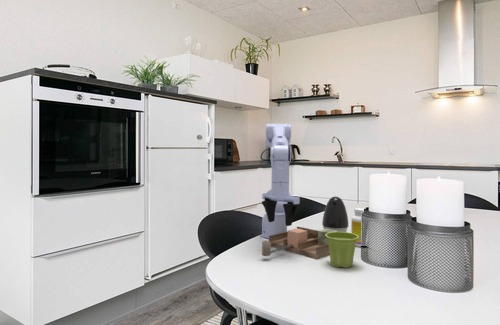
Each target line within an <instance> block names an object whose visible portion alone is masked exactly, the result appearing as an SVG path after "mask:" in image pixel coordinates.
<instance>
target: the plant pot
mask: <svg viewBox="0 0 500 325" xmlns="http://www.w3.org/2000/svg"><path fill="white" fill-rule="evenodd" d="M325 236H326V237H327V241H328V245H329V252H330V255H329V258H330V264H331V266H334V267H335V268H339V267H341V268H345V269H346V268H350V267H352V266H353V264H354V256H355V252H356V250H355V249H356V246H355V245H356V243H357V239H358V238H359V236H358V235H356V234H353V233H351V232H347V231H346V232H329V233H326V234H325Z"/></svg>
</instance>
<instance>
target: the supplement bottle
mask: <svg viewBox="0 0 500 325" xmlns="http://www.w3.org/2000/svg"><path fill="white" fill-rule="evenodd" d="M364 209H365V208H363V207H358V208H357V207H356V208H354V215H352V217H351V222H350V223H351V227H350V228H351V230H350V233H353V234H356V235H358V236H359V238H358V239H357V243H356V245H355V247H359V248H362V247H361V229H362V228H361V215H362V213H363V212H364Z"/></svg>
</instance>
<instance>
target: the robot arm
mask: <svg viewBox="0 0 500 325" xmlns="http://www.w3.org/2000/svg"><path fill="white" fill-rule="evenodd" d="M291 138H292V125H291V123H268V122H267V123H266V124H265V144H266V146H267V148H270V163H271V165H270V166H271V187H270V189H269V190H267V191H266V192H265V193H264V192H263V193H262V194H261V195H262V196H261V199H262V201H261V204H262V206H263V207H264V208H263V209H264V212H265V214H263V216H262V218H261V219H262V220H261V235H260V237H262V238H266V239H269V236H270V235H275V234H279V233H283V232H287V231H288V227H290V226H293V225H292V224H293V221H294V218H295V215H296V212H297V210H298V208H299V207H300V198H301V197H297V196H293V195H291V193H290V163H291V160H292V147H291Z"/></svg>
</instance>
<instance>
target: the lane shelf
mask: <svg viewBox="0 0 500 325" xmlns="http://www.w3.org/2000/svg"><path fill="white" fill-rule="evenodd" d="M296 229H302V230H307V241H305V242H302V243H299V248H295V247H290V248H287V249H283V250H282V251H286V252H290V253H294V254H297V255H300V256H304V257H308V258H311V259H316V260H319V259H321V258H325V257H328V256H330V252H329V245H328V241H327V237H326V236H325V234H326V233H329V232H338V231H337V230H331V229H324V228H323V229H321V230H317V229H313V228H312V229H311V228H306V227H302V226H296ZM288 231H289V230H287V232H283V233H279V234H275V235H270V236H269V238H268V241H270V242H271V248H275V249H279V248H282V247H286V246H287V242H288Z"/></svg>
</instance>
